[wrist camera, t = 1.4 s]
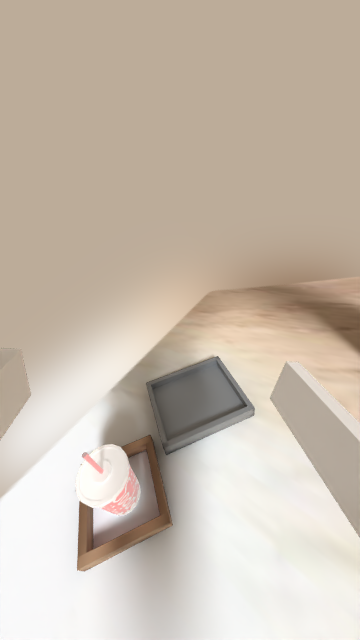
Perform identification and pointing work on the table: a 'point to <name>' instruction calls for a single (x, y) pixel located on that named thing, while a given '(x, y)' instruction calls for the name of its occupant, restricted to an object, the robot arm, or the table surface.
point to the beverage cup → (108, 481)
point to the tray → (197, 403)
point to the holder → (98, 555)
